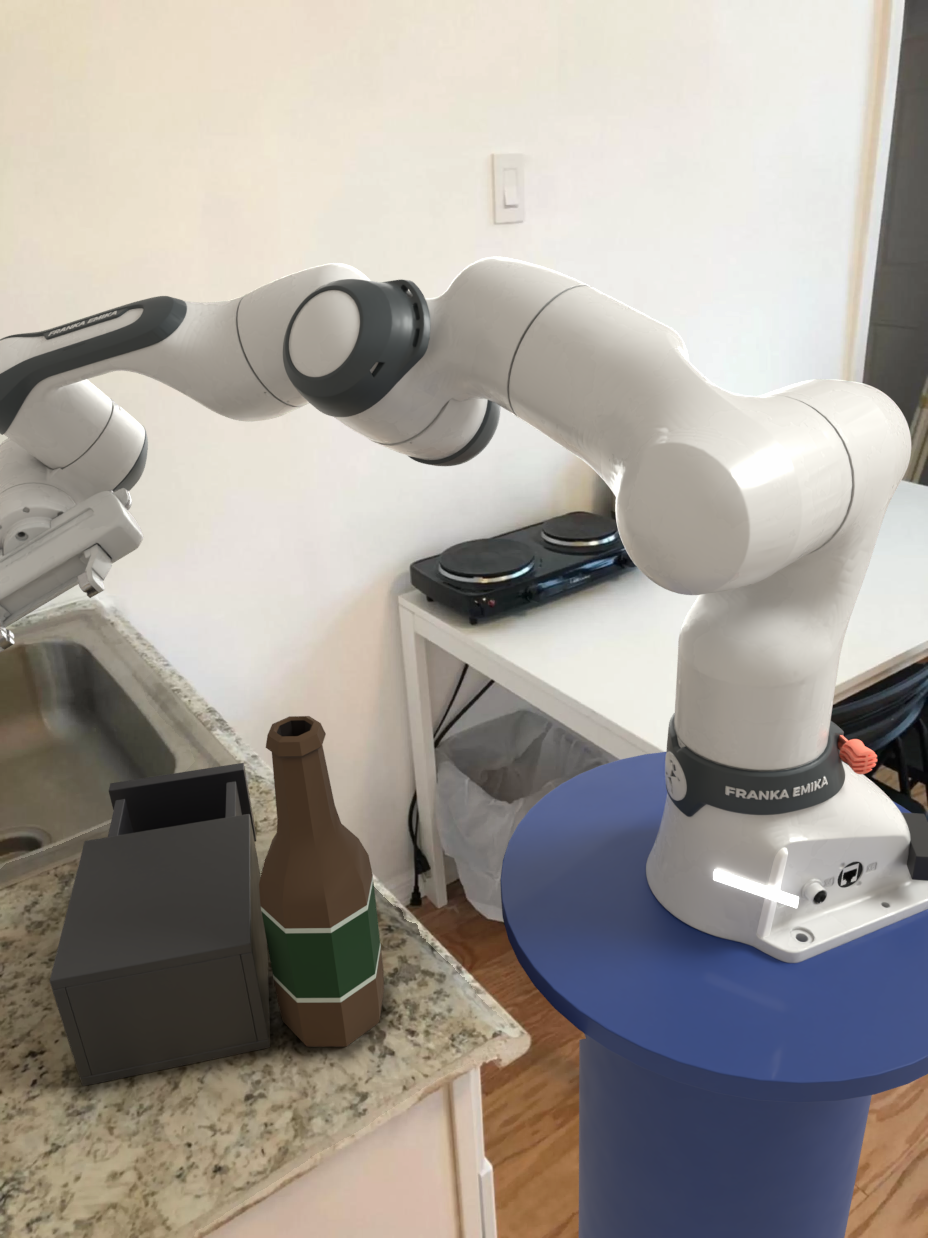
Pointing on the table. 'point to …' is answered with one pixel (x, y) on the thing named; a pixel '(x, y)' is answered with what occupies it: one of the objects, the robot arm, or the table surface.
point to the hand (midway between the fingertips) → (46, 616)
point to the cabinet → (164, 951)
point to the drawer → (179, 799)
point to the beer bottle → (318, 900)
